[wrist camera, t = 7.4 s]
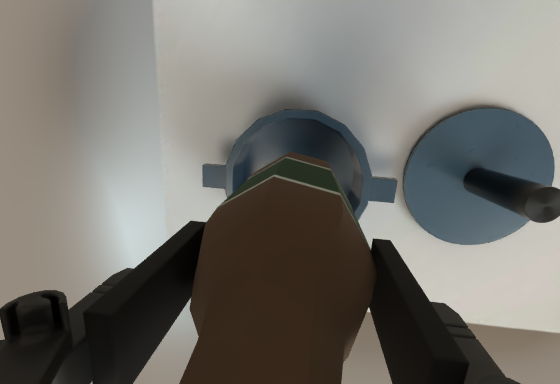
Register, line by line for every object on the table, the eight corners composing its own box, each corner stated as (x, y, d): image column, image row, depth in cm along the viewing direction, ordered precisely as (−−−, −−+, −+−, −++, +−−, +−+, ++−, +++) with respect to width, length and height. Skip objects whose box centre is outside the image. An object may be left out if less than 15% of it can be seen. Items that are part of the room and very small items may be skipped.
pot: (219, 106, 34) (199, 103, 28) (391, 117, 32) (411, 116, 26) (218, 222, 37) (200, 242, 31) (373, 236, 36) (386, 260, 30)
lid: (414, 104, 31) (465, 96, 21) (565, 112, 30) (696, 109, 20) (391, 234, 35) (425, 281, 25) (524, 247, 34) (617, 301, 24)
